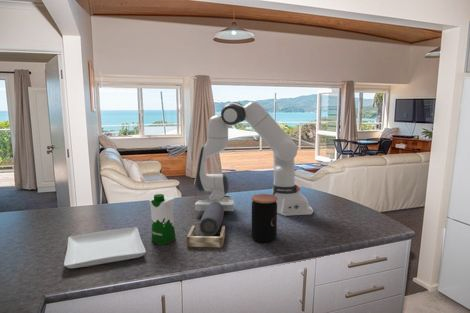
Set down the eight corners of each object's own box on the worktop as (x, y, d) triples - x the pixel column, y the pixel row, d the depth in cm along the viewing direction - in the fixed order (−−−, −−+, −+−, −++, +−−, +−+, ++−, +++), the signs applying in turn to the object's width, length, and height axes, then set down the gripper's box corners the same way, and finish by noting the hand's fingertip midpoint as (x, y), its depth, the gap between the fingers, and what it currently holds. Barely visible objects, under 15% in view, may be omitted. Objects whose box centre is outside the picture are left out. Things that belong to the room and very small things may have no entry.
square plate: (64, 275, 109) (63, 265, 108) (69, 244, 134) (68, 235, 133) (146, 260, 120) (146, 250, 119) (137, 233, 144) (136, 225, 144)
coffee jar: (275, 244, 132) (276, 201, 129) (249, 242, 134) (249, 200, 131) (277, 234, 142) (278, 194, 140) (253, 232, 145) (253, 193, 142)
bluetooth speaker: (220, 239, 137) (220, 216, 136) (198, 238, 138) (197, 216, 136) (225, 220, 160) (225, 200, 158) (206, 220, 160) (206, 200, 159)
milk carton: (148, 242, 134) (146, 195, 131) (162, 234, 142) (160, 190, 139) (165, 246, 131) (164, 198, 127) (178, 238, 139) (177, 192, 136)
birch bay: (225, 234, 142) (225, 226, 142) (222, 247, 130) (222, 237, 129) (192, 234, 143) (192, 225, 142) (186, 246, 130) (186, 237, 130)
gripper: (196, 196, 173) (191, 204, 159) (235, 196, 172) (233, 204, 158) (197, 207, 174) (192, 216, 160) (235, 208, 173) (233, 217, 159)
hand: (213, 210), depth 159 cm, fingers closed
